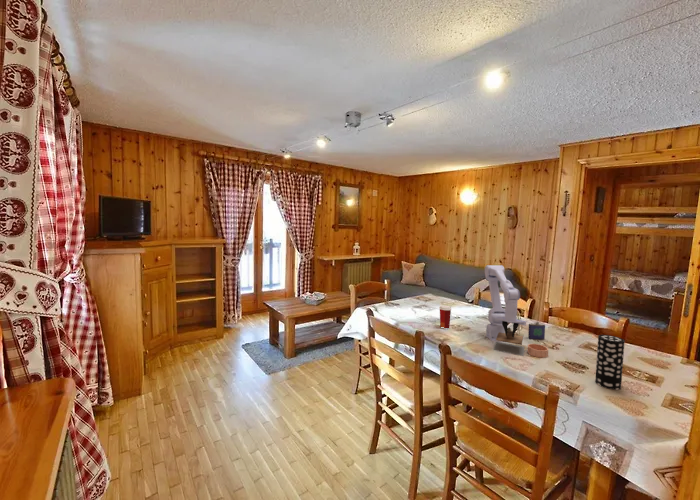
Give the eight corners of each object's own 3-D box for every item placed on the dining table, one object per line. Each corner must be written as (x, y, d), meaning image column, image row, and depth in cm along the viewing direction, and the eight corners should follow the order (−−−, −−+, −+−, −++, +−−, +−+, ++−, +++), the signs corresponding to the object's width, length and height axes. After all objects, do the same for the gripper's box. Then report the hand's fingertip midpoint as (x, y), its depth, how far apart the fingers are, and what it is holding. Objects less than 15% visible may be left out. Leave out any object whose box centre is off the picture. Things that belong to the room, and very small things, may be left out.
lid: (496, 340, 162) (496, 333, 162) (498, 333, 172) (498, 327, 172) (521, 345, 156) (522, 337, 155) (522, 337, 166) (523, 331, 165)
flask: (543, 338, 181) (543, 320, 180) (546, 340, 178) (546, 322, 177) (527, 338, 181) (528, 320, 180) (529, 339, 178) (530, 322, 177)
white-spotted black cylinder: (590, 379, 131) (593, 335, 130) (607, 379, 132) (610, 334, 130) (607, 390, 123) (611, 342, 122) (626, 389, 124) (630, 341, 122)
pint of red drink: (450, 326, 201) (451, 305, 200) (450, 330, 194) (451, 308, 193) (438, 325, 204) (439, 304, 203) (438, 328, 197) (438, 307, 196)
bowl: (534, 358, 153) (535, 351, 152) (523, 351, 162) (524, 343, 161) (551, 358, 153) (552, 350, 153) (540, 350, 162) (540, 343, 162)
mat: (493, 350, 162) (493, 349, 162) (496, 342, 174) (496, 341, 174) (523, 356, 155) (523, 355, 155) (524, 347, 166) (524, 346, 166)
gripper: (495, 311, 163) (494, 335, 164) (526, 315, 155) (524, 341, 157) (496, 308, 169) (495, 331, 170) (526, 312, 161) (525, 336, 163)
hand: (509, 335), depth 164 cm, fingers closed on lid, 2 cm apart
